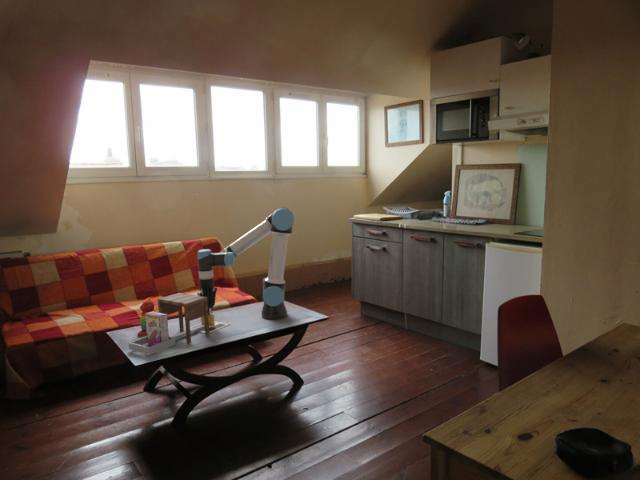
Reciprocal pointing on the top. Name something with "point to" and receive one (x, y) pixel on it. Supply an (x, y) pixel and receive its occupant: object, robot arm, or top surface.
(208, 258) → the robot arm
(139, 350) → the sled
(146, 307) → the stacking bear
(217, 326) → the pit mat
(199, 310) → the small wooden table
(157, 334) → the candy bar box
